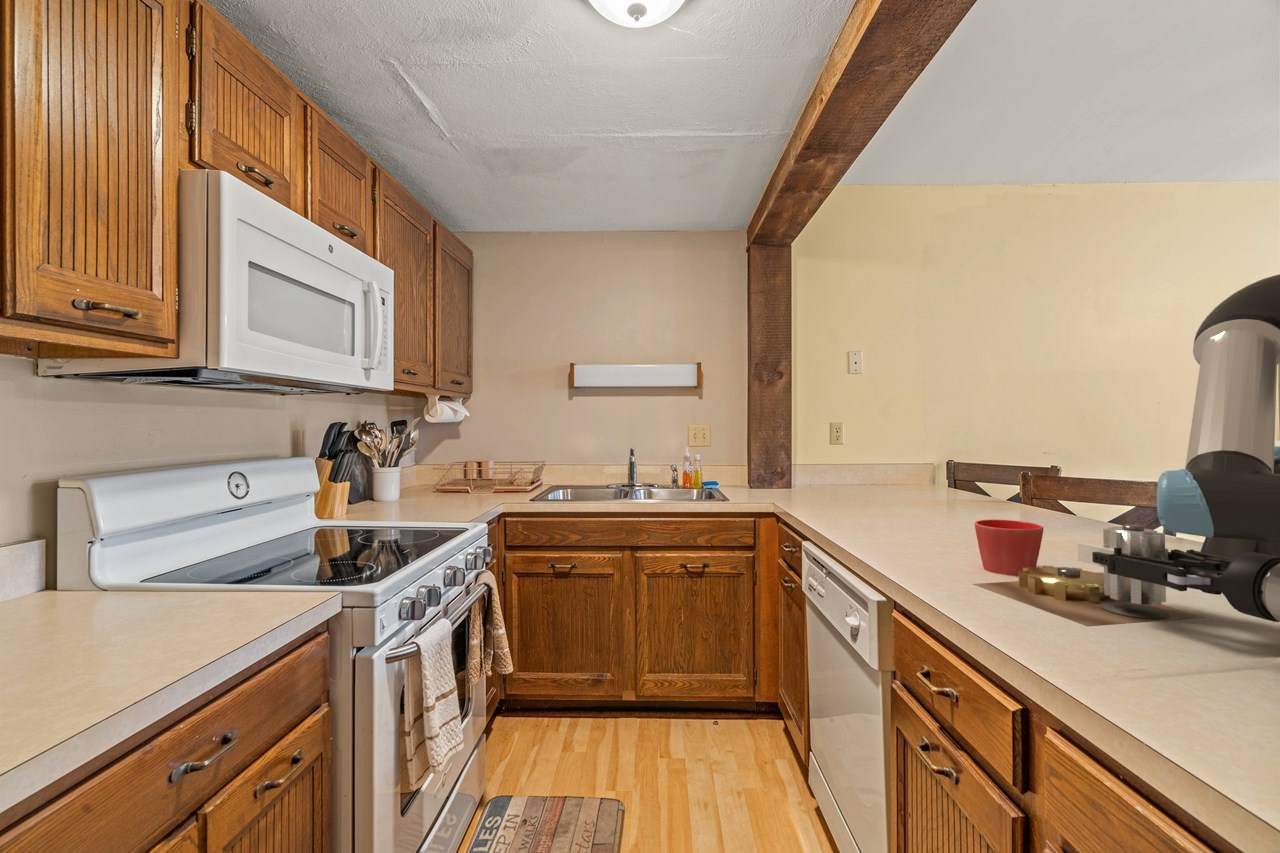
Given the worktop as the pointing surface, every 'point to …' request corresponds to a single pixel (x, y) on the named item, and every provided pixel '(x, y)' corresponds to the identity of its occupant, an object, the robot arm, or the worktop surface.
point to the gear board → (1090, 607)
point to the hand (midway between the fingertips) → (1101, 550)
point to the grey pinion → (1138, 544)
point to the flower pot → (1008, 545)
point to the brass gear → (1064, 583)
